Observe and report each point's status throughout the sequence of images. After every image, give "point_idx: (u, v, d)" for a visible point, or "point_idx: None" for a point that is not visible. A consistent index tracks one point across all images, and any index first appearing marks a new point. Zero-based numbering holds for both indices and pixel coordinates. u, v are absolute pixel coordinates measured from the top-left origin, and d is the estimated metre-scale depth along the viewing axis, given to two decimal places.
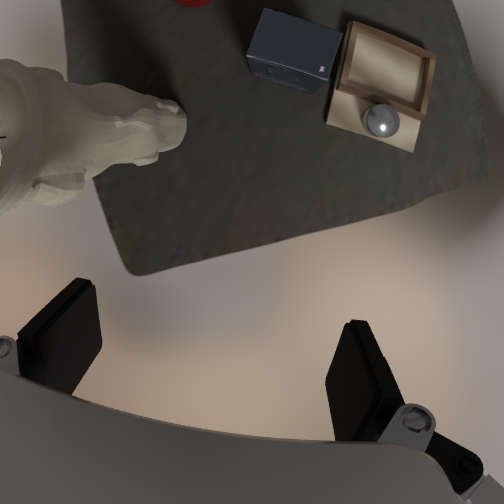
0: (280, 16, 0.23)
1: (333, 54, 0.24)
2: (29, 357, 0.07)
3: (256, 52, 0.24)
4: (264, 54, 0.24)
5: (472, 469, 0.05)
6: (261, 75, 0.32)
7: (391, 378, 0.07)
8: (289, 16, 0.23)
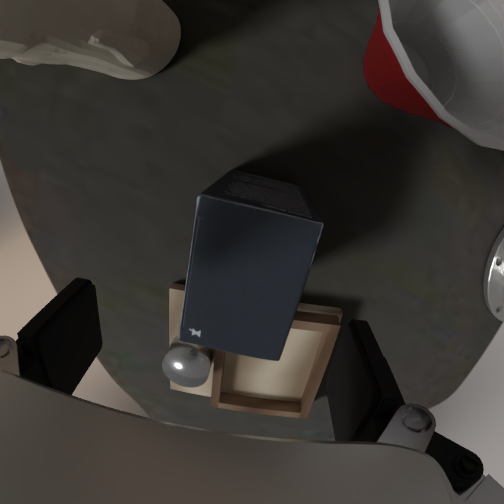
0: (302, 258, 0.14)
1: (229, 349, 0.16)
2: (29, 357, 0.07)
3: (207, 215, 0.13)
4: (204, 232, 0.14)
5: (472, 469, 0.05)
6: None
7: (391, 378, 0.07)
8: (303, 275, 0.14)
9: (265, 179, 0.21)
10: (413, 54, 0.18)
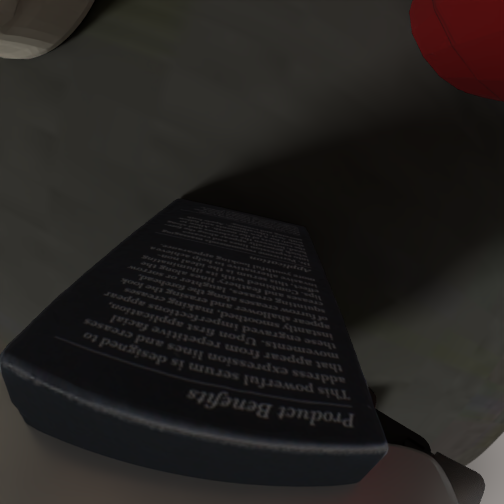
0: None
1: None
2: None
3: (32, 414, 0.03)
4: None
5: None
6: None
7: None
8: None
9: (236, 220, 0.11)
10: None
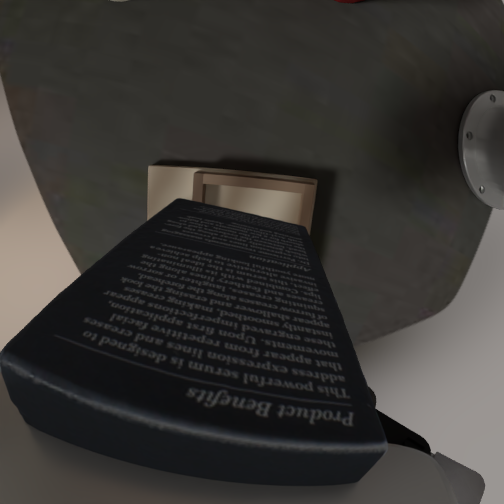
0: None
1: None
2: None
3: (32, 413, 0.03)
4: None
5: None
6: None
7: None
8: None
9: (236, 220, 0.11)
10: None
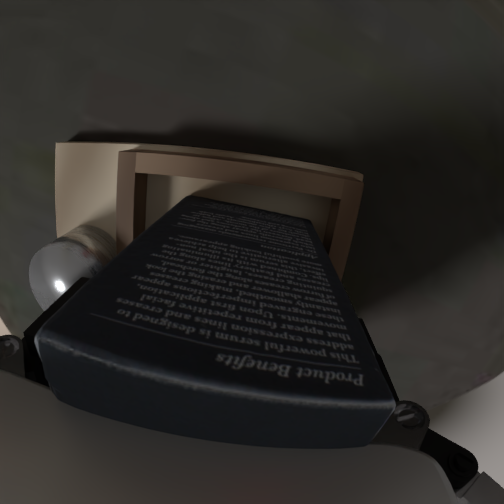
0: None
1: None
2: (35, 356, 0.07)
3: (67, 388, 0.04)
4: None
5: (466, 467, 0.05)
6: None
7: (385, 375, 0.08)
8: None
9: (245, 214, 0.12)
10: None
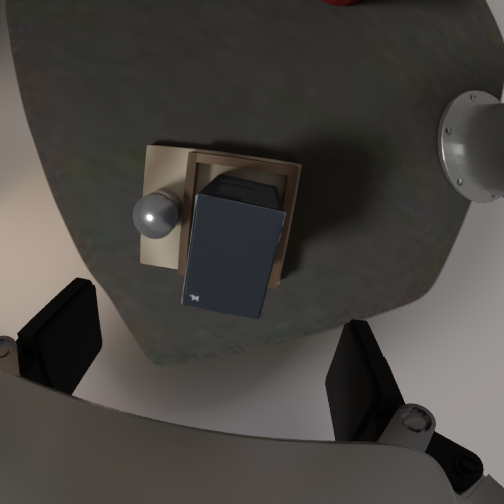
0: (271, 238, 0.19)
1: (220, 310, 0.21)
2: (29, 357, 0.07)
3: (203, 208, 0.19)
4: (201, 220, 0.19)
5: (472, 469, 0.05)
6: None
7: (391, 378, 0.07)
8: (273, 250, 0.20)
9: (246, 181, 0.27)
10: None
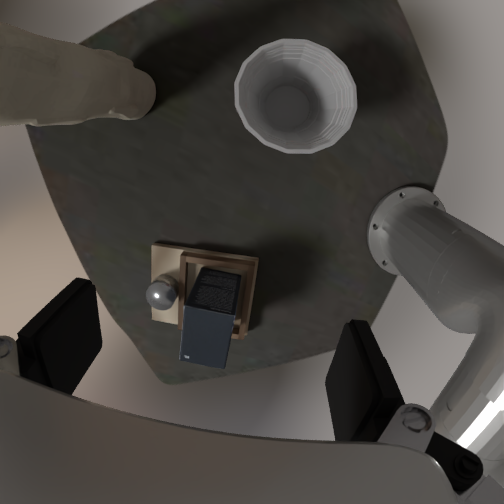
0: (227, 328, 0.33)
1: (201, 363, 0.35)
2: (29, 357, 0.07)
3: (188, 313, 0.33)
4: (187, 319, 0.33)
5: (472, 469, 0.05)
6: None
7: (391, 378, 0.07)
8: (229, 335, 0.34)
9: (219, 275, 0.41)
10: (298, 93, 0.35)
